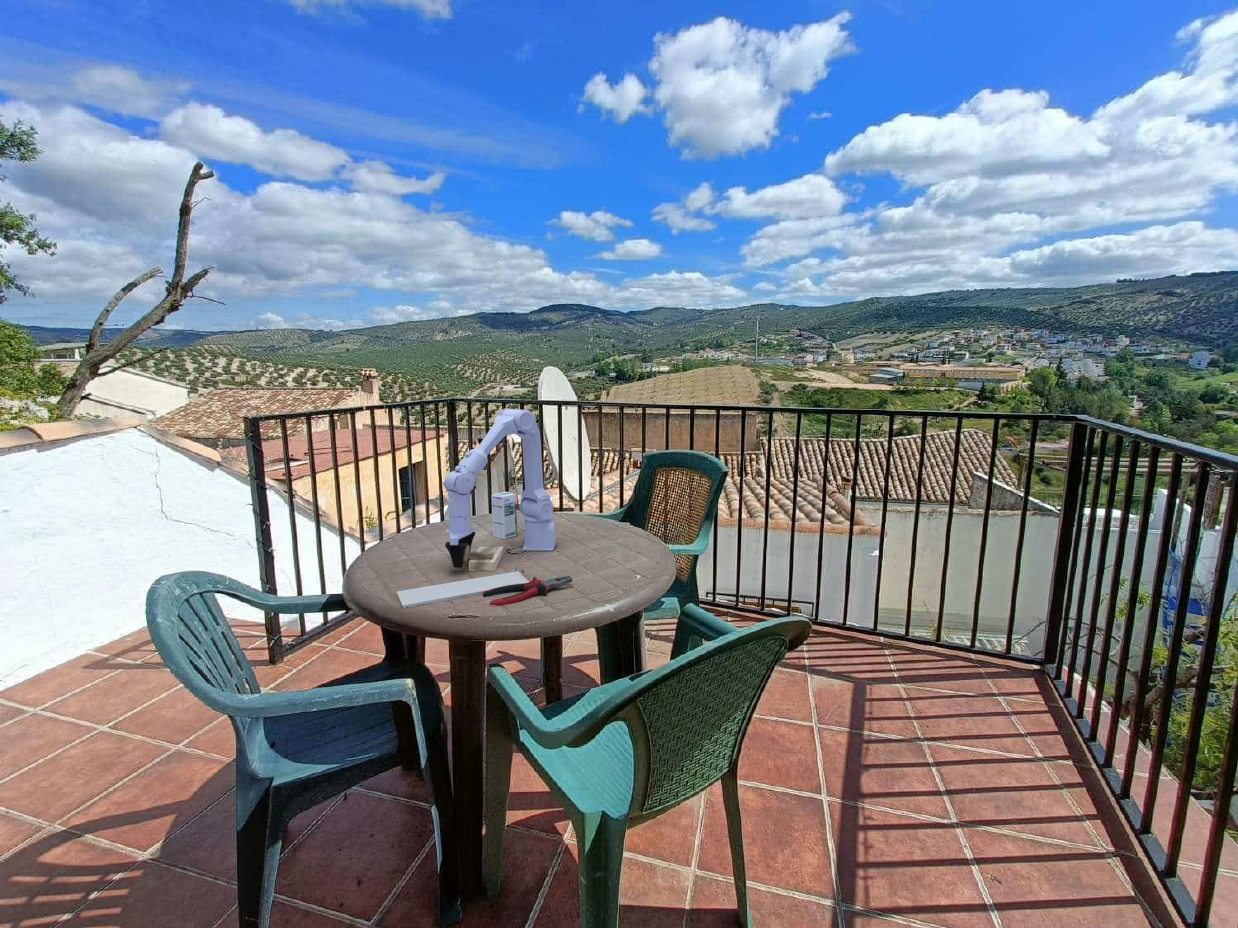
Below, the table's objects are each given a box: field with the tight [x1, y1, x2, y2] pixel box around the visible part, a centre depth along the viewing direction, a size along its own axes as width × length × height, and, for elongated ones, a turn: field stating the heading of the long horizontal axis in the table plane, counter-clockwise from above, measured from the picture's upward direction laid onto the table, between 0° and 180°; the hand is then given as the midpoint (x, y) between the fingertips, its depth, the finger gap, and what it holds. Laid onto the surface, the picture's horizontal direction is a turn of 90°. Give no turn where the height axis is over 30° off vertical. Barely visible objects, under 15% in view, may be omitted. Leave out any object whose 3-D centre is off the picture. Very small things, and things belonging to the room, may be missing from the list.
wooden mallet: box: [451, 545, 494, 572], centre depth 159 cm, size 11×4×6 cm, turn 93°
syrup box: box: [491, 491, 518, 540], centre depth 189 cm, size 6×6×14 cm
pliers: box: [482, 575, 573, 606], centre depth 141 cm, size 3×9×22 cm
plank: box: [468, 546, 505, 572], centre depth 163 cm, size 7×14×2 cm, turn 1°
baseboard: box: [395, 568, 530, 609], centre depth 144 cm, size 31×3×12 cm
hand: (461, 562), depth 159 cm, fingers open, 7 cm apart
